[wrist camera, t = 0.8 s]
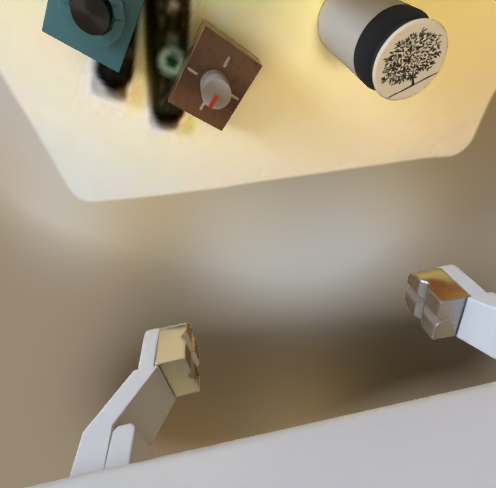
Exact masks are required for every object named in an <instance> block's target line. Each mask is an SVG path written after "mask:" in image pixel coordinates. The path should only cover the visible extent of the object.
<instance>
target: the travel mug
mask: <svg viewBox="0 0 496 488" xmlns="http://www.w3.org/2000/svg"><path fill="white" fill-rule="evenodd" d="M318 31H319V36H320V39H321V41H322V42H323V44H324V45H325V46H326V47H327V48H328V49H329V50H330V51H331V52H332V53H333V54H334V55H335V56H336V57H337V58H338V59H339V60H340V61H341V62H342V63H343V64H344V65H346V66H347V67H348V68H349V69H350V70H351V71H352V72H353V73H354V74H355V75H356V76H357V77H358V78H359V79H360V80H361V81H362V82H363V83H364V84H365V85H366V86H367V87H369V88H370V89H373V90H376V91H377V92H378V94H379V95H380V96H382V97H383V98H385V99H388V100H402V99H406V98H408V97H411V96H413V95H415V94H416V93H418V92H419V91H421V90H422V89H423V88H425V87H426V86H427V85H428V84H429V83H430V82H431V81H432V79H433V78H434V77H435V76H436V74H437V73H438V71H439V70H440V68H441V66H442V64H443V62H444V59H445V56H446V52H447V47H448V39H447V34H446V31H445V29H444V27H443V26H442V25H441V24H440V23H439V22H438V21H436V20H433V19H430V18H429V17H428V16H427V14H426V13H425V12H423V11H422V10H420V9H418V8H415V7H413V6H411V5H409V4H406V3H404V2H402V1H400V0H326V1H325V3H324V5H323V7H322V9H321V12H320V15H319V21H318Z"/></svg>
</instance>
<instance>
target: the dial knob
mask: <svg viewBox="0 0 496 488" xmlns="http://www.w3.org/2000/svg"><path fill="white" fill-rule="evenodd" d="M200 88H201V95H202V99H203V101H204V103H205V104H206V105H207V106H208V108H210V109H222V108H224V107H225V106H227V105H228V103H229V102H230V100H231V95H232V93H231V88H230V85H229V82H228V79H227V77H226V75H225V74H224V73H223V72H222V71H220V70H216V69H212V70H209V71H207V72H205V73H204V75H203V76H202V78H201V81H200Z"/></svg>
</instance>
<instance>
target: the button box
mask: <svg viewBox="0 0 496 488" xmlns="http://www.w3.org/2000/svg"><path fill="white" fill-rule="evenodd" d="M106 1H107V3H108V4H109V6H110V9H111V13H112V20H111V24H110V26H109V28H108V30H107V31H106V32H105V33H104V34H102V35H98V36H95V35H90V34H87V33H85V32H84V31H83V30H81V29H80V28H79V27H78V26H77V25H76V23H75V22H74V20H73V18H72V15H71V11H70V3H71V0H48V3H47V8H46V13H45V18H44V23H43V28H42V31H43V32H45V33H47V34H49V35H50V36H52V37H54V38H56V39H58V40H60V41H61V42H63V43H65V44H67V45H69V46H71V47H72V48H74V49H76V50H78V51H80V52H82V53H83V54H85V55H87V56H89V57H91V58H93V59H94V60H96V61H98V62H100V63H102V64H104V65H105V66H107V67H109V68H111V69H113V70H115V71H117V72H118V73H119V70H120V68H121V65H122V62H123V59H124V57H125V54H126V51H127V48H128V46H129V43H130V40H131V37H132V34H133V32H134V29H135V26H136V23H137V21H138V18H139V15H140V12H141V10H142V7H143V4H144V1H145V0H106Z"/></svg>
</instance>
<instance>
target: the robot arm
mask: <svg viewBox="0 0 496 488" xmlns="http://www.w3.org/2000/svg"><path fill="white" fill-rule="evenodd" d="M408 283H409V285H410V287H409V289H408V290H407V291H406V298H405V299H406V303H407V306H408V308H409V310H410V312H411V313H412V314H413V316H415V317H417V318H419V319H421V320H422V321H421V326H422V327H423V328H424V330H425V331H426V332H427V333H428V335H429V336H430V337H431V339H433V340H434V339H439V338H444V337H450V336H455V335H457V337H458V338H460V339H462V340H463V341H466V342H467V343H469V344H471V345H472V346H474V347H476V348H477V349H479V350H481V351H482V352H484V353H486V354H488V355H489V356H491V357H493V358H495V359H496V294H495V293H492V292H490V293H486V292H485V291H484V290H483V289H482V288H481V287H480V286H478V285H477V284H476V283H475V282H474V281H473V280H471V279H470V278H469V277H468V276H467V275H466V274H465V273H463V272H462V271H461V270H460V269H459V268H458V267H456V266H455V265H452V264H451V265H447V266H442V267H438V268H434V269H429V270H425V271H420V272H416V273H411V274H410V275H409V277H408ZM199 363H200V360H199V349H198V345H197V341H196V338H195V337H194V336H192V328H191V326H190V324H189V323H188V322H187V323H182V324H176V325H171V326H166V327H161V328H157V329H152V330H147V331H146V333H145V335H144V341H143V346H142V352H141V357H140V362H139V367H138V370H135V371H133V372H132V374H131V375H130V376H129V377H128V379H127V380H126V381H125V382H124V383H123V384H122V386H121V387H120V388H119V389H118V390H117V392H116V393H115V394H114V395H113V397H112V398H111V399H110V400H109V401H108V403H107V404H106V405H105V407H104V408H103V409H102V410H101V411H100V412H99V414H98V415H97V416H96V417H95V418H94V420H93V421H92V422H91V423H90V425H89V426H88V427H87V428H86V429H85V431H84V432H83V434H82V437H81V441H80V444H79V447H78V451H77V454H76V458H75V461H74V464H73V467H72V471H71V474H70V477H69V478H64V479H60V480H55V481H51V482H47V483H42V484H37V485H33V486H28V487H24V488H496V382H492V383H488V384H483V385H478V386H474V387H469V388H465V389H461V390H457V391H452V392H447V393H443V394H438V395H434V396H429V397H425V398H421V399H416V400H412V401H407V402H404V403H399V404H394V405H390V406H385V407H381V408H377V409H372V410H367V411H363V412H358V413H354V414H349V415H345V416H341V417H336V418H332V419H327V420H323V421H319V422H314V423H310V424H305V425H301V426H297V427H292V428H287V429H283V430H279V431H274V432H269V433H265V434H260V435H256V436H252V437H247V438H243V439H238V440H234V441H230V442H225V443H220V444H216V445H212V446H207V447H203V448H198V449H194V450H190V451H185V452H180V453H176V454H171V455H167V456H163V457H158V458H157V457H156V455H155V454H154V452H153V451H152V449H151V448H150V445H151V444H152V442H153V440H154V438H155V436H156V434H157V433H158V431H159V429H160V427H161V425H162V423H163V422H164V420H165V418H166V416H167V414H168V412H169V410H170V409H171V407H172V405H173V403H174V401H175V399H176V398H175V397H179V396H182V395H187V394H191V393H195V392H198V391H199V389H200V388H199V385H200V383H199V382H200V380H199V379H200V377H199V376H200V374H199V372H198V369H197V366H198V365H199Z"/></svg>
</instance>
